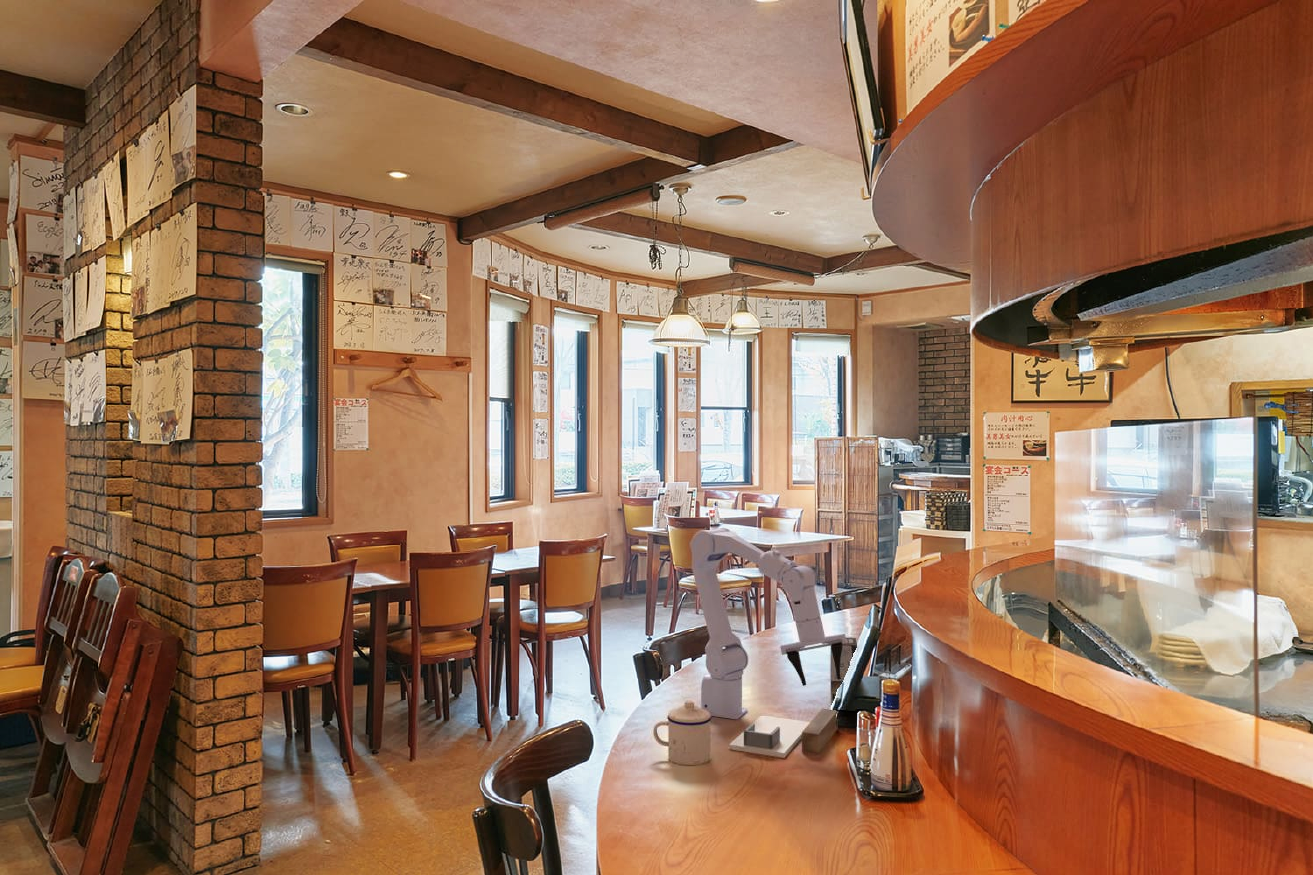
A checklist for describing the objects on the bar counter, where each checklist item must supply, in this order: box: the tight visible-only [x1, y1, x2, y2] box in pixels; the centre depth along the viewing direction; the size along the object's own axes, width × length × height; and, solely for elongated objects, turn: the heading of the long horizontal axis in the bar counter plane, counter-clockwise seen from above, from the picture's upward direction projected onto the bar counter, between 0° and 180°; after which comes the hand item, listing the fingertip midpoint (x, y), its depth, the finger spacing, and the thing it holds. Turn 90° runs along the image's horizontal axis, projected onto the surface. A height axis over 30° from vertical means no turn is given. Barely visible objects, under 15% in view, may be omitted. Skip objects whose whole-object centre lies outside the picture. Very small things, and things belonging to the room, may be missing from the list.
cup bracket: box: [728, 715, 811, 759], centre depth 194 cm, size 12×22×4 cm, turn 155°
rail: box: [801, 707, 838, 756], centre depth 193 cm, size 4×18×4 cm, turn 156°
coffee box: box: [829, 637, 858, 706], centre depth 218 cm, size 9×6×16 cm
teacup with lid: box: [652, 700, 713, 766], centre depth 181 cm, size 12×9×12 cm
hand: (821, 681), depth 194 cm, fingers open, 7 cm apart
